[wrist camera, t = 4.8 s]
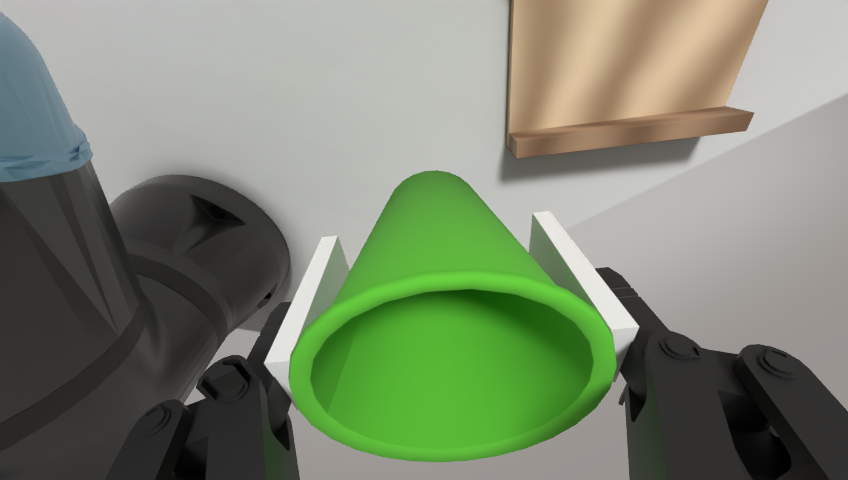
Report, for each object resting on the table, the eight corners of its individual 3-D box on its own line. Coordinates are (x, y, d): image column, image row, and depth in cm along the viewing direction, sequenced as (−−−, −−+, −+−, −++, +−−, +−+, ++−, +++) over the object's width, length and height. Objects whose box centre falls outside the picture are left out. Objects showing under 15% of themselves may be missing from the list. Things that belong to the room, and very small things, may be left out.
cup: (519, 249, 19) (613, 438, 10) (388, 283, 21) (367, 477, 12) (496, 106, 14) (636, 225, 5) (325, 163, 16) (204, 335, 7)
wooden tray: (506, 145, 25) (516, 158, 22) (514, -104, 17) (532, -130, 14) (709, 120, 24) (746, 130, 21) (818, -155, 16) (898, -194, 13)
